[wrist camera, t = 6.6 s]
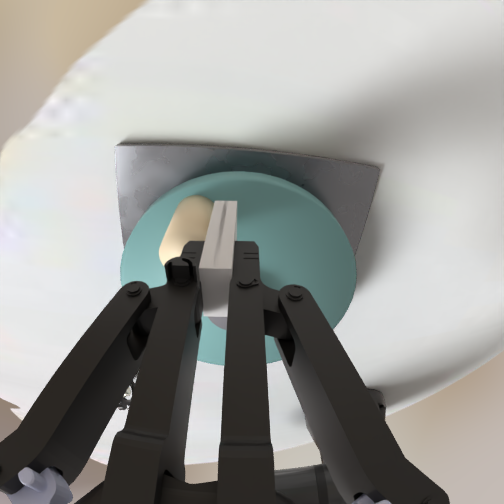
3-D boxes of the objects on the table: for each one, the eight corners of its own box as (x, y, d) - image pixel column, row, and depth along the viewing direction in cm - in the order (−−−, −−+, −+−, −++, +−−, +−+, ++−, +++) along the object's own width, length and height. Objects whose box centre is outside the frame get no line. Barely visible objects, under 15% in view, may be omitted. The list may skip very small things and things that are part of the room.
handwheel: (359, 323, 30) (378, 375, 24) (189, 364, 33) (183, 416, 27) (323, 136, 19) (357, 165, 13) (87, 224, 22) (48, 274, 17)
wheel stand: (376, 166, 24) (389, 177, 21) (320, 339, 36) (324, 356, 33) (118, 144, 22) (105, 152, 20) (141, 328, 34) (136, 345, 32)
